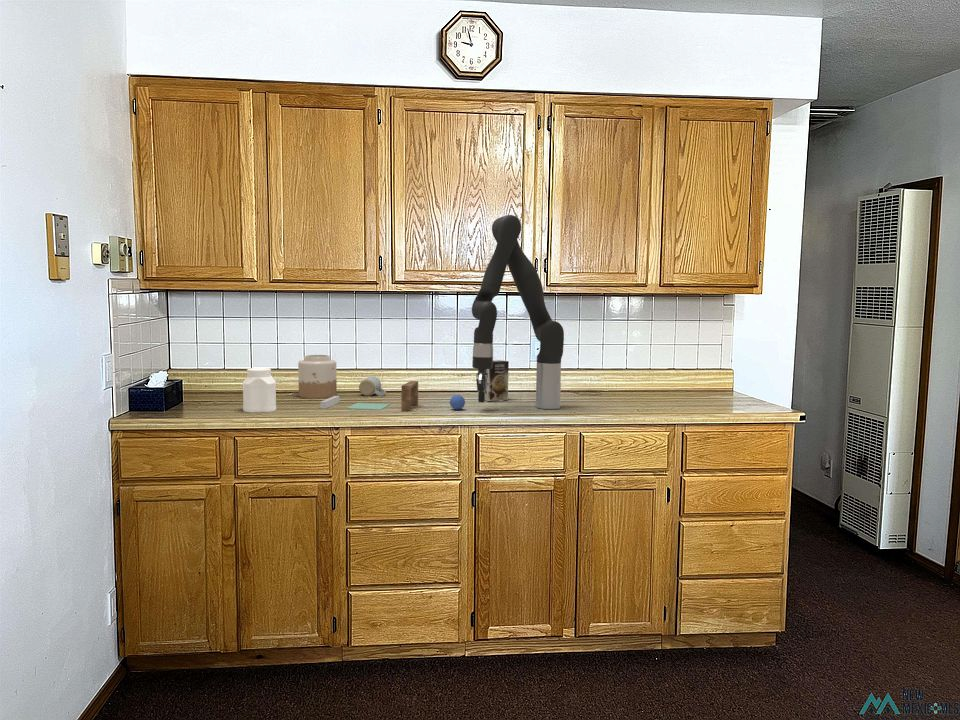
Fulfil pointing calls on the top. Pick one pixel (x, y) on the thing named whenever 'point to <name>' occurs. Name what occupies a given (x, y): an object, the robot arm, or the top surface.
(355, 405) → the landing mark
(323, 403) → the wall
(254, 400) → the jar
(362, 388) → the ceramic mug
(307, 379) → the vase
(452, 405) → the ball
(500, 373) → the coffee box
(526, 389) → the top surface
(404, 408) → the bridge
